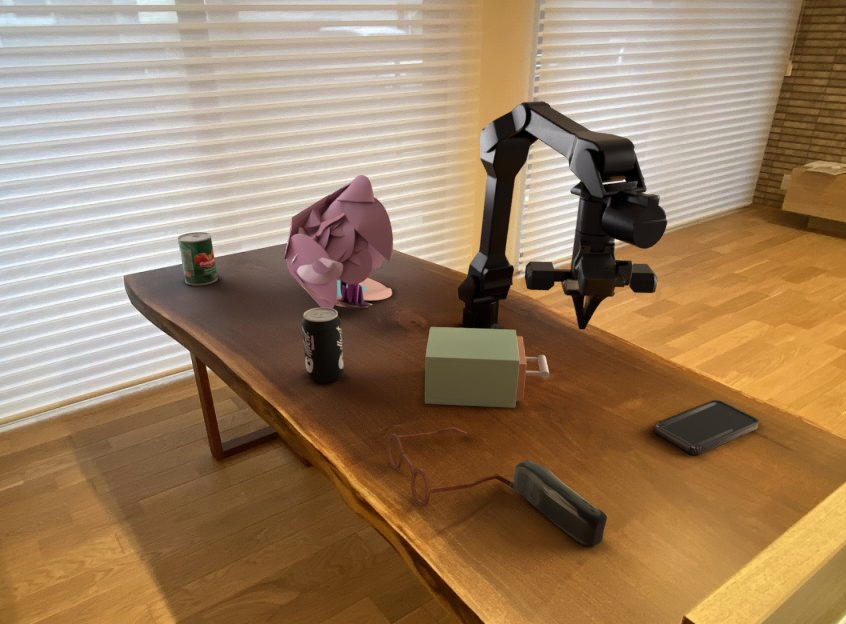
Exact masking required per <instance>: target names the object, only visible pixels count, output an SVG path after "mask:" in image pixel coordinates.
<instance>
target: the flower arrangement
mask: <svg viewBox="0 0 846 624" xmlns="http://www.w3.org/2000/svg"><path fill="white" fill-rule="evenodd" d="M289 225H290V226H289V230H288V235H287V242H286V245H285V252H284V260H285V261H286V265H287V269H288V273H289V274H290V275H291V276H292V277H293V278H294V279H295V280H296V282H297V283H298V284H299V285H300V286H301V287H302V289H304V291H305V292H306V293H307V294H308V295H309V296H310V297H311V298H312V300H314V302H315V303H316V304H317V305H318V306H319V307H327V308H332V309H334V307H335V306H338V307H344V308H350V309H352V308H353V309H366V308H368V309H369V307H371V306H372V305H374V304H373V303H369V302H368V301H380V300H385V299H388V298H390V297H391V296H392V295H393V291H392V289H391V287H386V285H384V284H382V283H380V282H378V281H377V280H374V279H372V278H370V277H369V276H370V274H371V273H372V269H378V268H380V267H381V266H382V265H383V262H384V259H386V260H387V262H389V263H391V260H392V257H393V252H394V234H393V228H392V222H391V220H390V217H389V214H388V210H387V209H386V207H385V206H384V205H383V203H382V202H381V201H380V200H379V199H378V198H377V197H375V196H374V190H373V186H372V183H371V180H370V178H369V177H368V176H366V175H364V174H360V175H357V176H356V177H354V179H353V180H351V181H350V182H349V183H346V184H345V185H343V186H341V187H340V188H338V189H337V190H335V191H333V192H332V193H330V194H328V195H325V196H324V197H322V198H321V199H319V200H317V201H315V202H314V203H313V204H311V205H308V207H306V208H305V209H303V210H301V211H300V212H298V213H297V214H295V215H293V216H292V217H291V220H290V224H289Z"/></svg>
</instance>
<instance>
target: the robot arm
mask: <svg viewBox="0 0 846 624" xmlns="http://www.w3.org/2000/svg"><path fill="white" fill-rule="evenodd" d="M538 140H539V141H541V142H542V143H543V144H545V145H547V146H548V147H549V148H551V149H552V150H554V151H556V152H557V153H559V154H560V155H562V157H564V158H566V160H568V168H569V170H570V171H571V172H572V174H574V176H575V177H576V178H577V179H578V180H579V182H578V183H577V184H576V185H574V186H573V187H572V188H570V194H571V195H575V196H578V197H579V199H578V206H577V212H576V213H577V215H576V222H575V230H574V238H573V246H572V253H571V261H570V268H569V269H568V268H555V267H554V264H553V262H552V261H535V260H534V261H532V260H529V262H528V263H526V265H525V268H524V269H525V270H524V281H525V285H526V287H525V288H526V289H527V290H530V291H550V290H551V289H552V288H553V287H554V286H555V283H560V285H561V289H562V291H563V294H564V295H565V296H568V297H569V296H570V297H571V299H572V303H573V308H574V312H575V318H576V322H577V327H578V329H579V330H583V331H584V330H585V329H586V328H587V326H588V324H589V323H590V321H591V319H592V317H593V315H594V314H595V312H596V310H597V308H598V307H599V306H600V305H601V303H602V302H603V301H605V299H607V298H613V297H615V295H616V293H615V289H616V288H625V287H629V289H630V290H631V291H632V292H633V293H634V294H654V293H656V292H657V291H656V290H657V286H658V275H657V274H656V273H655V272H654V270H653V269H652V268H651V267H650V265H649V264H648V263H633V261H632V260H626V259H625V260H624V259H622V260H621V259H616V255H615V251H616V248H615V247H616V241H619V242H622V243H624V244H628V245H630V246H633V247H636V248H639V249H642V250H647V249H650V248H652V247H654V246H655V245H657V244H658V242H660V240H661V239H662V238H663V236H664V234H665V232H666V230H667V226H668V219H667V214H666V211H665V209H664V207H662V206H661V205H660V201H661V196H660V195H658V194H656V193H655V194H654V193H646V192H647V185H646V181H645V176H644V175H643V173H642V169H641V166H640V163H639V159H638V157H637V154H636V151H635V147H636V146H635V144H634V142H633V141H632V140H631V139H630V138H628V137H623V136H620V135H617V134H613V133H607V132H598V131H593V130H590V129H589V128H587V127H585V126H584V125H582V124H580V123H578V122H577V121H575V120H573V119H572V118H570V117H569V116H567V115H565V114H563V113H561V112H560V111H558V110H557V109H555V108H553V107H551V105H550V104H549V103H548V102H546V101H545V100H544V101H543V100H537V101H523V102H521V103H520V104H517V105H516V106H515V107H514V108H513V109H511V111H508V112H506V113H505V114H503V115H501V116H499V117H497V118H495V119H493V120H492V121H491V122H489V123H487V124H486V126H485V127H484V128H482V129H481V132H480V134H479V140H478V143H479V160H480V161H481V164H482V166H483V168H484V170H485V172H486V182H485V183H486V184H485V192H484V200H483V201H484V202H483V211H482V221H481V228H480V229H481V231H480V238H479V248H478V252H477V253H476V254H475V256H474V257H473V259H472V260H471V261H470V263H469V265H468V269H467V274H466V278H465V279H464V280H463V281H462V282H461V284H460V285H459V286H458V287H457V297H458V300H460V301H461V302H463V303H464V306H463V307H462V321H459V326H461V328H477V329H503V326H502V325H501V324H499V323H498V322H499V309H500V301H502V300H503V301H505V300H507V298H508V294H509V291H510V289H511V287H512V286H513V283H514V282H513V280H514V279H513V278H514V277H513V276H514V272H515V266H514V265H513V264H510V261H509V259H508V257H507V254H506V251H507V244H508V236H509V229H510V221H511V220H510V219H511V213H512V206H513V198H514V192H515V191H514V190H515V182H516V177H517V176H518V174H519V173H520V172H521V170H522V169H523V167H524V166H525V164H526V163H527V161H528V156H529V153H530V148H531V146H532V145H534V144H535V143H536V142H538ZM615 240H616V241H615Z"/></svg>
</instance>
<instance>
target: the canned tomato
mask: <svg viewBox="0 0 846 624" xmlns="http://www.w3.org/2000/svg"><path fill="white" fill-rule="evenodd" d="M176 240H177V244H178V250H179V255H180V260H181V264H182V265H181V266H182V270H183V271H182V272H183V276H184V283H186V284H187V285H189V286H196V287H198V286H206V285H210V284H214V283H215V282H217V281H218V279H219V277H218V271H217V264H216V258H215V252H214V246H213V240H212V234H211V233H209V232H203V231H194V232H188V233H183V234H181V235H179V236H177V237H176Z"/></svg>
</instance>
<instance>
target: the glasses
mask: <svg viewBox="0 0 846 624" xmlns="http://www.w3.org/2000/svg"><path fill="white" fill-rule="evenodd" d="M450 432H452V433H455V434H457V435H459V436H463V437H467V435H468V432H467V431H464V430H462V429H460V428H457V427H454V426H451V427H450V426H449V427H444V428H440V429H437V430H434V431H429V432H420V433H419V432H418V433H410V434H400V435H398V434H397V433H390V434H389V435H388V437H387V442H386V455H387V459H388V462H389V464H390V466H391V467H392V469H395V470H396V469H397V470H399V469H400V468H401V467H402V464H403V462H404V464H406V466H407V467H408V469H409V470H410V473H411V477H410V478H411V479H410V490H411V493H412V497H413V499H414V501H415V503H416V504H417V505H418V506H419V507H425V506H427V505H428V503H429V502H430V498H431V494H436V493H443V492H449V491H456V490H463V489H470V488H474V487H476V486H479V485H481V484H483V483H486V482H488V481H492V480H497V481H499V482H500V483H503V484H505V485H507V486H508V485H509V484H510V483H511V482H512V480H511V479H508V478H507V477H505V476H503V475H501V474H499V473H495V474H490V475H485V476H482V477H480V478H477V479H475V480H473V481H468V482H461V483H453V484H446V485H441V486H440V485H439V486H433V487H431V485H430V484H431V483H430V480H429V477H428V475H427V473H426V471H425V470H424V469H423V468H421V467H415V466H414V464H413V463H412V461H411V460H410V459H409V457H408V456H407V455H406V454H404V448H403V444H402V441H407V440H416V439H426V438H432V437H436V436H439V435H442V434H445V433H446V434H447V433H450ZM392 442H396V444H397V447H398V459H397V462H396V463H395V461H394V459H393V456H392V451H391V450H392V448H391V447H392ZM417 474H419V475H420V476H421V477H422V479H423V482H424V487H425V492H424V498H423V500H421V498H420V497H419V494H418V492H417V488H416V481H417V480H416V478H417V476H418V475H417Z"/></svg>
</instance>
